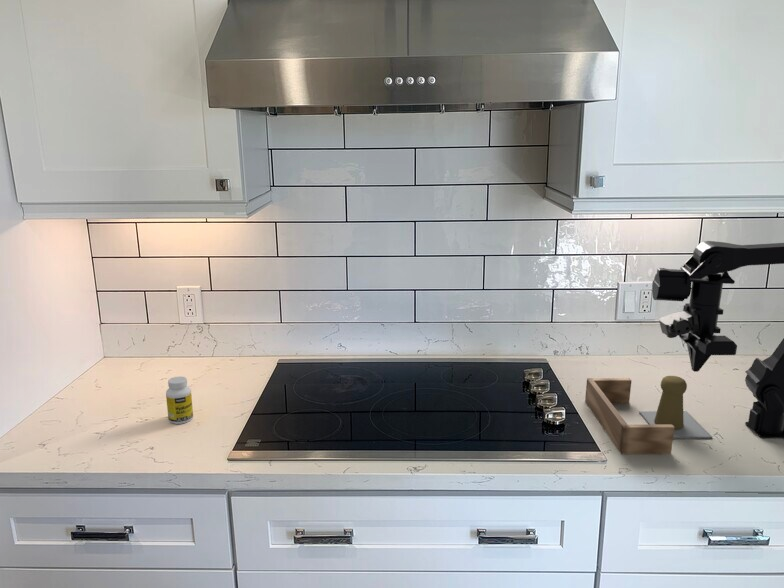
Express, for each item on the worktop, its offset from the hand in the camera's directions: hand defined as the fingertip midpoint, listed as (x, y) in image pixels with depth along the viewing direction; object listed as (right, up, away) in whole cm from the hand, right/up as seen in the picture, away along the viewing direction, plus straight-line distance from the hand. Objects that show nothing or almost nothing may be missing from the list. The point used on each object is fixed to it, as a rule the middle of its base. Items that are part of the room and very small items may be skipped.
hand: (695, 370), depth 136 cm
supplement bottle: (-114, -12, +7) cm, 115 cm away
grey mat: (-3, -12, +4) cm, 13 cm away
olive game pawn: (-4, -12, +3) cm, 14 cm away
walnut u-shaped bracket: (-14, -13, +4) cm, 19 cm away
